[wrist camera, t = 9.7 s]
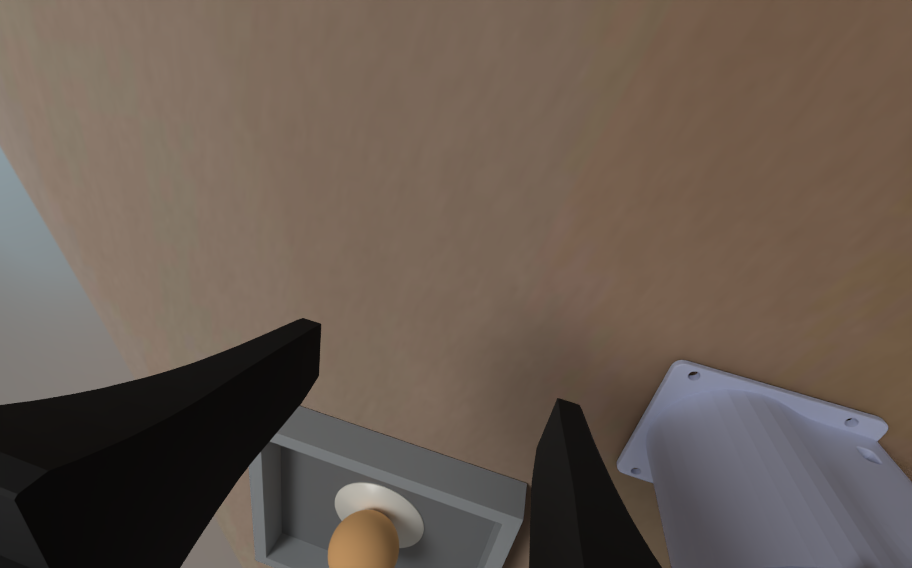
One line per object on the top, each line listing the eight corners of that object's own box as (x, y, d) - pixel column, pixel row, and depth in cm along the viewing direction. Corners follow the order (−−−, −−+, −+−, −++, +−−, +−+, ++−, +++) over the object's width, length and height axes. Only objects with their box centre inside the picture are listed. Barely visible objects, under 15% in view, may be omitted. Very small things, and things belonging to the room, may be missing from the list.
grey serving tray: (526, 483, 26) (523, 519, 24) (473, 607, 34) (467, 643, 32) (270, 395, 28) (245, 422, 26) (274, 531, 36) (255, 560, 34)
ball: (405, 501, 29) (378, 573, 25) (411, 544, 31) (387, 616, 27) (343, 488, 30) (307, 555, 26) (353, 530, 32) (321, 598, 28)
